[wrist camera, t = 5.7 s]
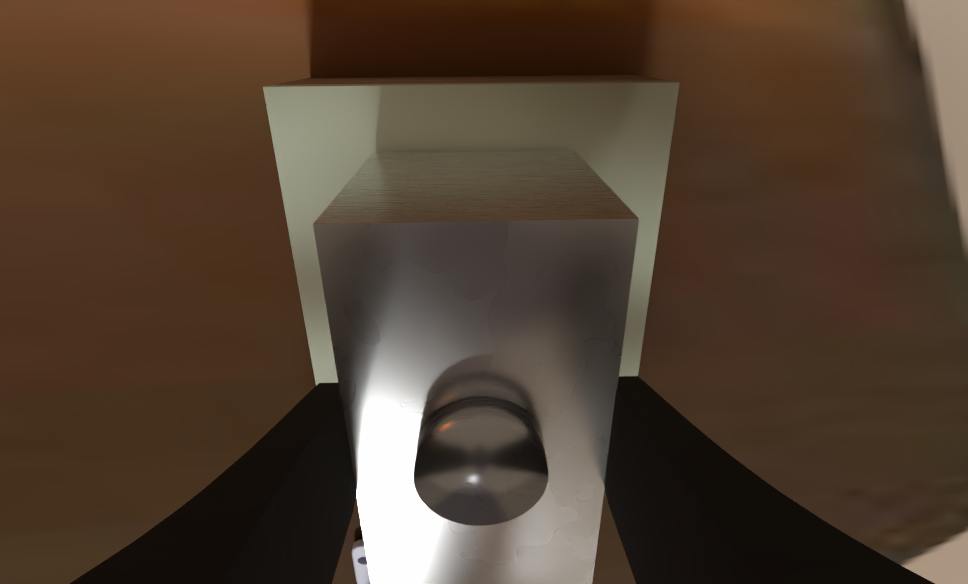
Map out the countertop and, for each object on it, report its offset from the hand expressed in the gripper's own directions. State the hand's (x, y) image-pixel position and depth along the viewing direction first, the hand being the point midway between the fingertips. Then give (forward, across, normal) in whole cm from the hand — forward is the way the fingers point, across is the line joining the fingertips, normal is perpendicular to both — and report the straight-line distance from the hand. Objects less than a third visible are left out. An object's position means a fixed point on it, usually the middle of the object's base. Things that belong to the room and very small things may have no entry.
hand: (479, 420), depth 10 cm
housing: (+5, 0, 0) cm, 5 cm away
